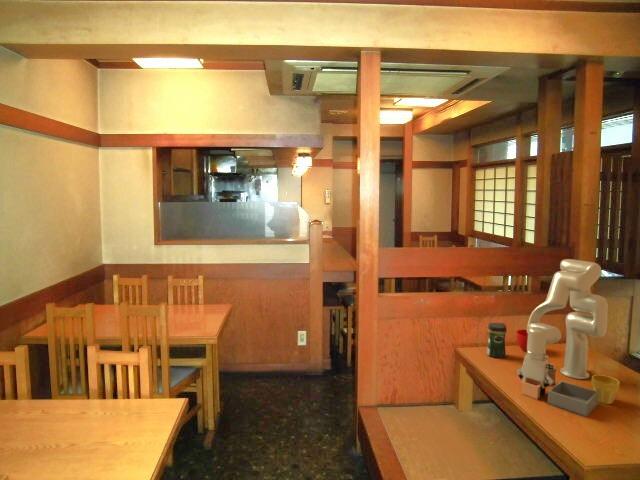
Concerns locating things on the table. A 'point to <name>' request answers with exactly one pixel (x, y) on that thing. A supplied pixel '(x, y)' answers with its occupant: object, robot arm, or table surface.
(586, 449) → the table surface
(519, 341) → the ceramic cup
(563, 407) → the grey crate
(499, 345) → the coffee jar
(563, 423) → the table surface
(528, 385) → the terracotta crate
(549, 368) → the lighter
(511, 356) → the table surface
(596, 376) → the plant pot
